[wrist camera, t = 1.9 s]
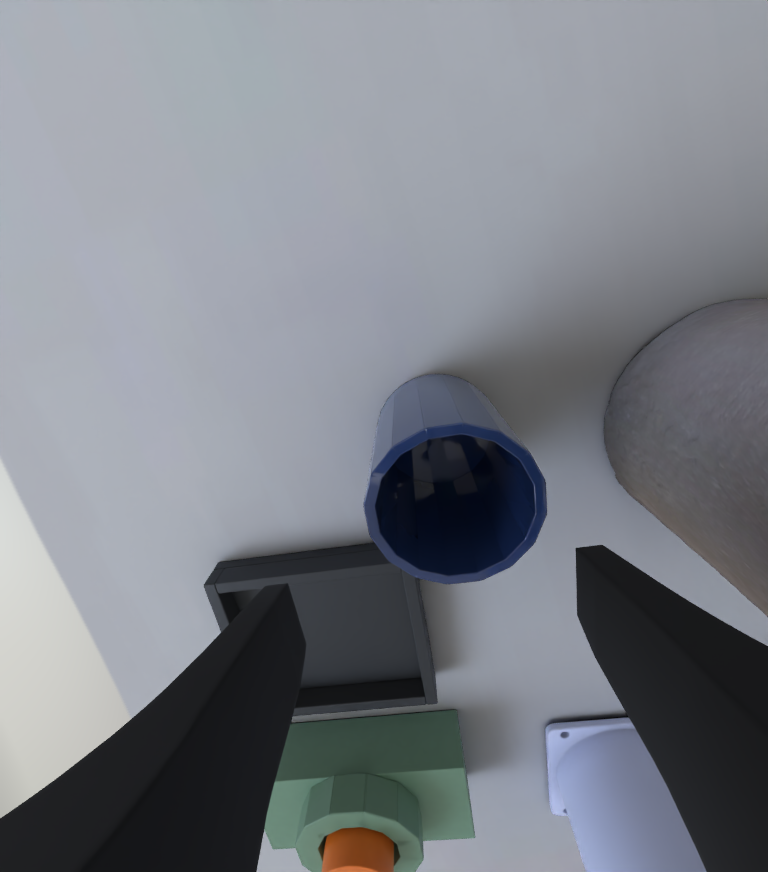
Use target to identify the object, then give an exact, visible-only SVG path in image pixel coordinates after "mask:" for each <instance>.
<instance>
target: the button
mask: <svg viewBox="0 0 768 872" xmlns="http://www.w3.org/2000/svg"><path fill="white" fill-rule="evenodd" d="M322 872H394V842H393V841H392V840H391V839H390V838H389V837H387V836H386V835H385V834H383V833H382V832H378V831H375V830H371V829H367V828H364V827H355V828H341V829H339V830H337V831H335V832H333V833H331V834H329V835H327V837H326V842H325V849H324V857H323V864H322Z"/></svg>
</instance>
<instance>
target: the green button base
mask: <svg viewBox="0 0 768 872" xmlns="http://www.w3.org/2000/svg"><path fill="white" fill-rule="evenodd" d="M355 827H364V828H367V829H371V830H375V831H378V832H382V833H383V834H385V835H386V836H387V837H389V838H390V839H391V840H392V841H393V842H394V872H415V871H416V870H417V868H418V867H419V865H420V864H421V862H422V861H423V858H424V855H423V841H431V840H448V839H466V838H475V832H474V825H473V817H472V810H471V803H470V795H469V788H468V780H467V773H466V767H465V761H464V754H463V748H462V741H461V735H460V728H459V722H458V716H457V710H447V711H435V712H423V713H411V714H400V715H388V716H376V717H364V718H352V719H341V720H329V721H317V722H305V723H293V724H290V728H289V731H288V735H287V739H286V742H285V746H284V750H283V753H282V757H281V761H280V765H279V768H278V772H277V776H276V779H275V783H274V787H273V790H272V795H271V799H270V803H269V808H268V812H267V816H266V822H265V827H264V829H265V832H266V834H267V837H268V839H269V841H270V844H271V846H272V848H273V849H288V848H296V850H297V853H298V856H299V858H300V861H301V863H302V865H303V866H304V867H306V868H307V869H308V870H310V871H311V872H322V864H323V857H324V849H325V842H326V837H327V835H329V834H331V833H333V832H335V831H337V830H339V829H341V828H355Z"/></svg>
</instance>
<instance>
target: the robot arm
mask: <svg viewBox="0 0 768 872" xmlns="http://www.w3.org/2000/svg"><path fill="white" fill-rule="evenodd" d="M576 578H577V616H578V618H579V620H580V623H581V625H582V628H583V630H584V632H585V635H586V637H587V640H588V642H589V644H590V647H591V649H592V651H593V653H594V656H595V658H596V660H597V661H598V663H599V665H600V667H601V669H602V670H603V672H604V674H605V676H606V678H607V679H608V681H609V683H610V685H611V687H612V688H613V690H614V692H615V694H616V695H617V697H618V699H619V701H620V702H621V704H622V706H623V708H624V710H625V711H626V713H627V715H628V717H626V718H614V719H601V720H589V721H576V722H564V723H553V724H549V725H548V726H547V727H546V729H545V734H546V751H547V768H548V785H549V803H550V808H551V812H552V813H553V814H554V815H557V816H565V815H568V817H569V820H570V823H571V826H572V830H573V833H574V836H575V839H576V842H577V845H578V848H579V852H580V855H581V858H582V861H583V864H584V867H585V871H586V872H768V646H766V645H764V644H762V643H761V642H759V641H757V640H755V639H753V638H751V637H749V636H748V635H746V634H744V633H742V632H740V631H739V630H737V629H735V628H733V627H732V626H730V625H728V624H726V623H725V622H723V621H721V620H719V619H718V618H716V617H714V616H713V615H711V614H709V613H707V612H706V611H704V610H702V609H701V608H699V607H697V606H696V605H694V604H692V603H691V602H689V601H688V600H686V599H684V598H683V597H681V596H680V595H678V594H676V593H675V592H673V591H672V590H670V589H669V588H667V587H665V586H664V585H662V584H661V583H659V582H658V581H656V580H655V579H653V578H652V577H650V576H649V575H647V574H646V573H644V572H643V571H641V570H639V569H638V568H636V567H635V566H633V565H632V564H630V563H629V562H627V561H626V560H624V559H623V558H621V557H620V556H618V555H617V554H615V553H614V552H612V551H611V550H609V549H608V548H606V547H605V546H603V545H597V546H589V547H581V548H576ZM306 645H307V644H306V640H305V637H304V634H303V631H302V627H301V624H300V621H299V618H298V614H297V611H296V608H295V605H294V601H293V598H292V595H291V592H290V588H289V585H288V583H284V584H276V585H267V586H265V587H264V588H263V589H262V590H261V591H260V592H259V593H258V594H257V595H256V596H255V597H254V598H253V599H252V600H251V601H250V602H249V603H248V604H247V605H246V606H245V608H244V609H243V610H242V611H241V612H240V613H239V614H238V615H237V616H236V617H235V618H234V619H233V621H232V622H231V623H230V624H229V625H228V626H227V627H226V628H225V629H224V630H223V631H222V632H221V633H220V634H219V636H218V637H217V638H216V639H215V640H214V641H213V642H212V643H211V644H210V645H209V646H208V647H207V648H206V649H205V650H204V651H203V652H202V653H201V654H200V655H199V656H198V657H197V658H196V659H195V660H194V661H193V662H192V663H191V664H190V665H189V666H188V667H187V668H186V669H185V670H184V671H183V672H182V673H181V674H180V675H179V676H178V677H177V678H176V679H175V680H174V681H173V682H172V683H171V684H170V685H169V686H168V687H167V688H166V689H165V690H164V691H163V692H161V693H160V694H159V695H158V696H157V697H156V698H155V699H154V700H153V701H152V702H150V703H149V704H148V705H147V706H146V707H145V708H144V709H143V710H141V711H140V712H139V713H138V714H137V715H136V716H134V717H133V718H132V719H131V720H130V721H129V722H128V723H126V724H125V725H124V726H123V727H122V728H121V729H119V730H118V731H117V732H116V733H115V734H113V735H112V736H111V737H110V738H108V739H107V740H106V741H104V742H103V743H102V744H101V745H99V746H98V747H97V748H96V749H94V750H93V751H92V752H91V753H89V754H88V755H87V756H85V757H84V758H83V759H82V760H80V761H79V762H78V763H76V764H75V765H74V766H73V767H71V768H70V769H69V770H67V771H66V772H65V773H64V774H62V775H61V776H60V777H58V778H57V779H56V780H54V781H53V782H51V783H50V784H49V785H47V786H46V787H45V788H43V789H42V790H40V791H39V792H38V793H36V794H35V795H33V796H32V797H31V798H29V799H28V800H26V801H25V802H24V803H22V804H21V805H19V806H18V807H17V808H15V809H14V810H12V811H11V812H9V813H8V814H6V815H5V816H3V817H2V818H0V872H256V870H257V865H258V860H259V854H260V849H261V843H262V838H263V833H264V827H265V822H266V816H267V812H268V808H269V803H270V799H271V795H272V790H273V787H274V783H275V779H276V776H277V772H278V768H279V765H280V761H281V757H282V753H283V750H284V746H285V742H286V739H287V735H288V731H289V728H290V724H291V720H292V717H293V713H294V709H295V705H296V701H297V698H298V694H299V690H300V686H301V680H302V673H303V667H304V660H305V652H306Z"/></svg>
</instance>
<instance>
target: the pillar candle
mask: <svg viewBox="0 0 768 872" xmlns="http://www.w3.org/2000/svg"><path fill="white" fill-rule="evenodd" d="M604 439H605V446H606V451H607V454H608V458H609V460H610V463H611V466H612V467H613V469H614V472H615V477H616V479H617V480H618V482H619V483H620V484H621V485H622V486H623V488H624V489H625V490H626V491H627V492H628V493H629V494H630V495H631V496H632V497H633V498H634V499H635V500H636V501H638V502H639V503H640V504H641V505H643V506H644V507H645V508H646V509H647V510H648V511H649V512H651V513H652V514H653V515H654V516H655V517H656V518H657V519H659V520H660V521H661V522H662V523H663V524H664V525H665V526H666V527H667V528H668V529H670V530H671V531H672V532H673V533H675V534H676V535H677V536H679V537H680V538H681V539H682V540H683V541H684V542H685V543H686V544H687V545H688V546H689V547H690V548H691V549H692V550H694V551H695V552H696V553H697V554H698V555H700V556H701V557H702V558H703V559H704V560H705V561H706V562H708V563H709V564H710V565H711V566H712V567H714V568H715V569H716V570H717V571H718V572H719V573H720V574H721V575H722V576H723V577H725V578H726V579H727V580H728V581H729V582H730V583H731V584H732V585H733V586H735V587H736V588H737V589H738V590H739V591H740V592H741V593H742V594H743V595H744V596H745V597H746V598H747V599H748V600H750V601H751V602H752V603H753V604H754V605H756V606H757V607H758V608H759V609H760V610H761V611H762V612H763V613H764V614H765V615H766V616H767V617H768V299H739V300H732V301H727V302H721V303H716V304H713V305H710V306H707V307H704V308H702V309H700V310H697V311H696V312H694V313H692V314H690V315H689V316H687V317H685V318H684V319H683V320H681V321H679V322H677V323H676V324H674V325H673V326H671V327H669V328H668V329H666V330H665V331H664V332H663V333H661V334H660V335H659V336H658V337H656V338H655V339H654V340H653V341H652V342H651V343H650V344H648V345H647V346H646V347H645V348H644V349H642V350H641V351H640V352H639V353H638V354H637V355H636V356H635V357H634V358H633V360H632V361H631V362H630V363H629V364H628V366H627V367H626V369H625V370H624V372H623V373H622V374H621V376H620V378H619V380H618V381H617V383H616V384H615V387H614V389H613V392H612V393H611V397H610V401H609V405H608V408H607V411H606V414H605V422H604Z"/></svg>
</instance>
